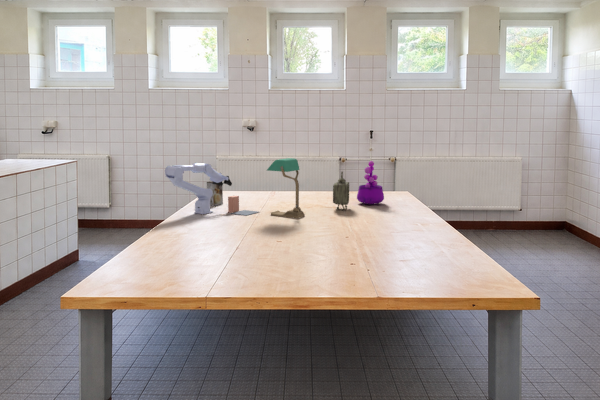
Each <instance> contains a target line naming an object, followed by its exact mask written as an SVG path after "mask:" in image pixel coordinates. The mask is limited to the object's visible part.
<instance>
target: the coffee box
mask: <svg viewBox="0 0 600 400" xmlns="http://www.w3.org/2000/svg"><path fill="white" fill-rule="evenodd" d="M221 182H222V183H223V181H221ZM206 189H211V190H212V193H213V194H212V197H211V199H210V206H215V207H216V206H219V205H223V204H224V198H223V197H224V195H223V186H219V185H217V184H213V181H210V180H209V181H206Z"/></svg>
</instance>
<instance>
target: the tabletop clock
mask: <svg viewBox="0 0 600 400" xmlns="http://www.w3.org/2000/svg"><path fill="white" fill-rule="evenodd" d="M343 177H344V171H343V170H342V171H340V178H339V179H338V180H337V182H334V184H333V185H332V203H333V204H334V205H337V207H336V209H337V210H339V209H340V205H341V207H342V211H346V209H347V208H348V204H349V202H350V182H349V181H348V182H347V181H346V179H345V178H343Z"/></svg>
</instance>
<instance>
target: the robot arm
mask: <svg viewBox="0 0 600 400" xmlns="http://www.w3.org/2000/svg"><path fill="white" fill-rule="evenodd" d="M185 172H191V173H196V174H197V173H201V174H202V173H203V174H204V175H206V176H207V177H209V182H210V181H213V184H217V185H219V186H222V187H223V186H224V184H225V185H228V186H229V187H232V185H233V182H232V181H231V180H230V176H229V175H224V174H222V173H221V172H218V171H217V170H216V169H214V168H213V167H212V165H211V164H209V163H204V162H201V163H198V162H194V163H192V164H190V165H188V164H175V165H167V166H166V167H165V169H164V175H165V177H166V178H167V179H168V180H169V181H170V182H171V184H172V185H173V186H175V187H177V188H180V189H182V190H185V191H187V192H189V193H192V194H193V195H195V196H196V198H197V200H195V202H194V212H193V214H200V215H206V214H210V213H211V214H212V213H213V212H214V211H213V210H211V205H210V199H211V197H212V194H213V193H212V190H211V189H207V187H206V188H205V187H202V186H201V187H200V186H198V185H196V184H193V183H191V182H188V181H186V180H184V175H183V174H184V173H185ZM221 181H222V182H221Z"/></svg>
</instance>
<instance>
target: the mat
mask: <svg viewBox="0 0 600 400" xmlns="http://www.w3.org/2000/svg"><path fill="white" fill-rule="evenodd" d="M259 213H260V211H257V210H246V209H243V210H239V211H238V212H234V213H230V214H231V215H237V216H245V217H246V216H250V215H255V214H259Z"/></svg>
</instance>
